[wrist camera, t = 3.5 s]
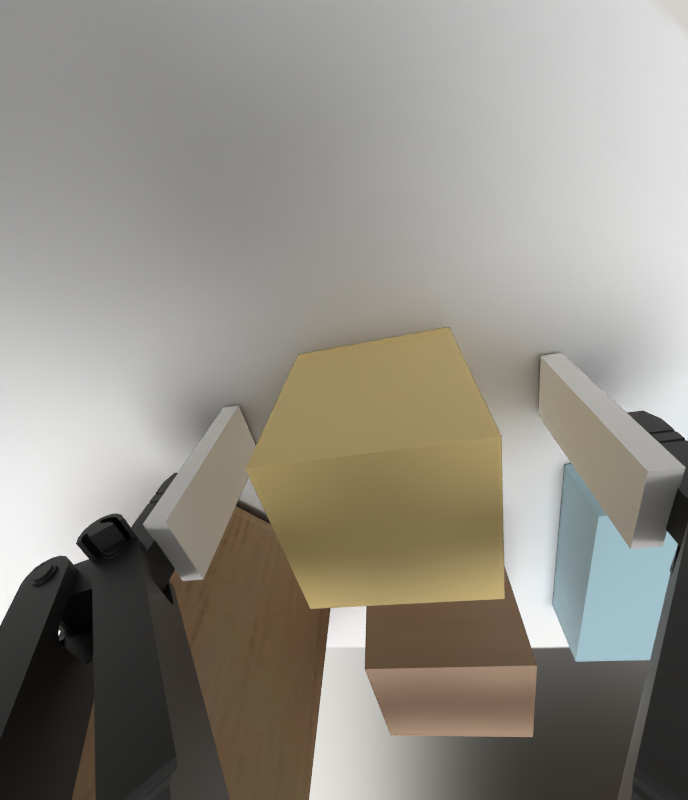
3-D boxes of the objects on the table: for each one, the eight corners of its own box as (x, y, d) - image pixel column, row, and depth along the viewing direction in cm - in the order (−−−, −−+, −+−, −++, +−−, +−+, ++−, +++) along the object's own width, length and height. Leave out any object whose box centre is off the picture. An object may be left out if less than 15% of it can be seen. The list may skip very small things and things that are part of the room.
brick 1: (298, 353, 15) (245, 468, 9) (448, 326, 14) (501, 436, 8) (333, 465, 18) (310, 609, 12) (459, 450, 17) (504, 598, 11)
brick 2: (368, 520, 20) (365, 669, 14) (485, 509, 19) (537, 665, 13) (387, 588, 23) (390, 735, 17) (489, 581, 22) (532, 736, 16)
